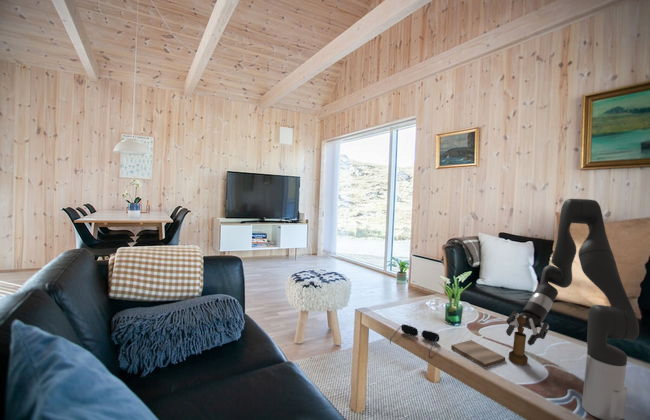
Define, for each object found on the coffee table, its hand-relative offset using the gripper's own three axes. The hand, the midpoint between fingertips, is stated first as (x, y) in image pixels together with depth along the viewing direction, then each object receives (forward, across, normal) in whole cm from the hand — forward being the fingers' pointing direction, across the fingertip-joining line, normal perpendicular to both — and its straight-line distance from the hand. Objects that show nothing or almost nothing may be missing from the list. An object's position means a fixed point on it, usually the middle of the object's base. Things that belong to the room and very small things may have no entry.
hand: (518, 339), depth 131 cm
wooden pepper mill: (+6, 0, +7) cm, 9 cm away
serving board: (+14, -10, -1) cm, 17 cm away
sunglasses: (+26, -28, -13) cm, 40 cm away
